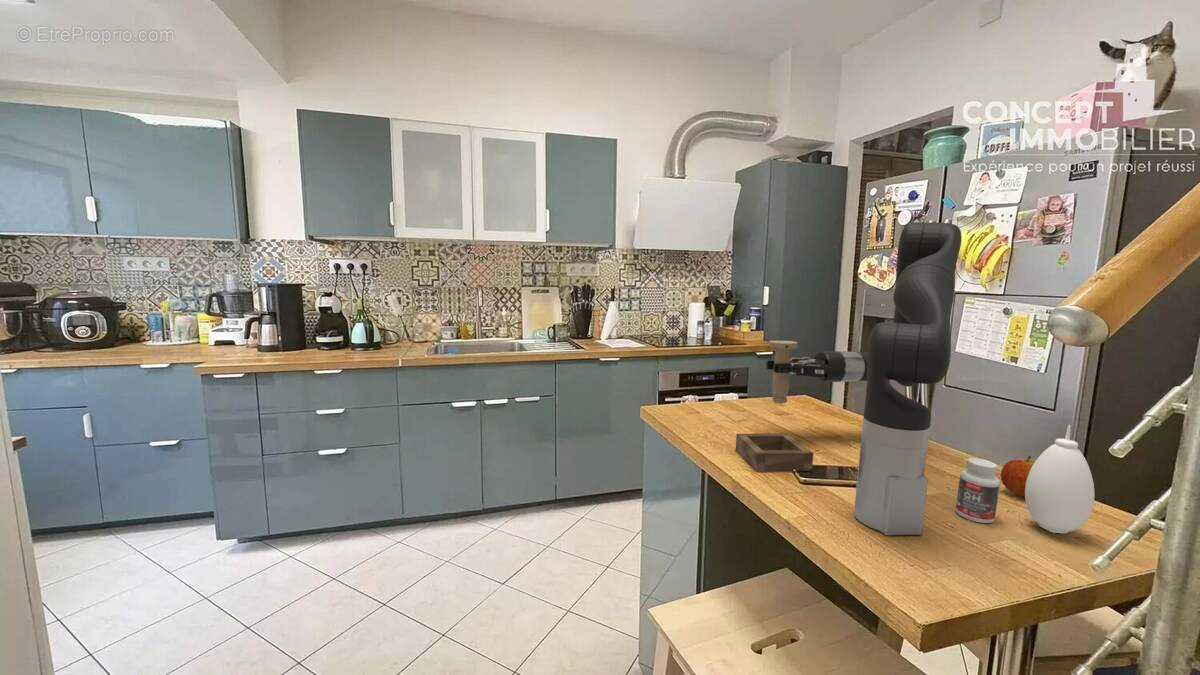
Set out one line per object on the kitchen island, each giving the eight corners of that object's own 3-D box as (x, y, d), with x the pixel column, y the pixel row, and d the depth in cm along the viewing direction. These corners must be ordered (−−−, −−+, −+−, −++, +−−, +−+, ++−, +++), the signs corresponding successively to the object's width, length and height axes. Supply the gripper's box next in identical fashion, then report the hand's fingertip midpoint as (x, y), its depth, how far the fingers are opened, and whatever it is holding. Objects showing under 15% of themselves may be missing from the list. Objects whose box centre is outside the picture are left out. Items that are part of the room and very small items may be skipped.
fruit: (1018, 504, 87) (1025, 462, 85) (989, 487, 93) (994, 448, 92) (1058, 505, 86) (1064, 463, 85) (1025, 488, 93) (1031, 449, 92)
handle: (796, 405, 114) (800, 343, 112) (769, 404, 114) (773, 343, 112) (788, 399, 119) (792, 340, 117) (763, 399, 119) (766, 340, 117)
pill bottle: (959, 519, 80) (967, 464, 79) (951, 505, 85) (958, 454, 84) (999, 527, 78) (1007, 471, 77) (988, 512, 83) (996, 459, 82)
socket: (811, 471, 99) (813, 452, 99) (756, 471, 98) (757, 453, 98) (785, 449, 111) (786, 433, 110) (735, 450, 110) (736, 433, 110)
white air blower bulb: (1036, 538, 75) (1054, 429, 72) (1010, 515, 82) (1025, 415, 80) (1099, 548, 73) (1119, 435, 70) (1066, 523, 80) (1083, 420, 78)
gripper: (824, 347, 123) (759, 346, 122) (857, 356, 109) (784, 356, 108) (821, 375, 124) (757, 375, 123) (854, 388, 110) (782, 388, 109)
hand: (770, 366), depth 115 cm, fingers closed on handle, 3 cm apart
